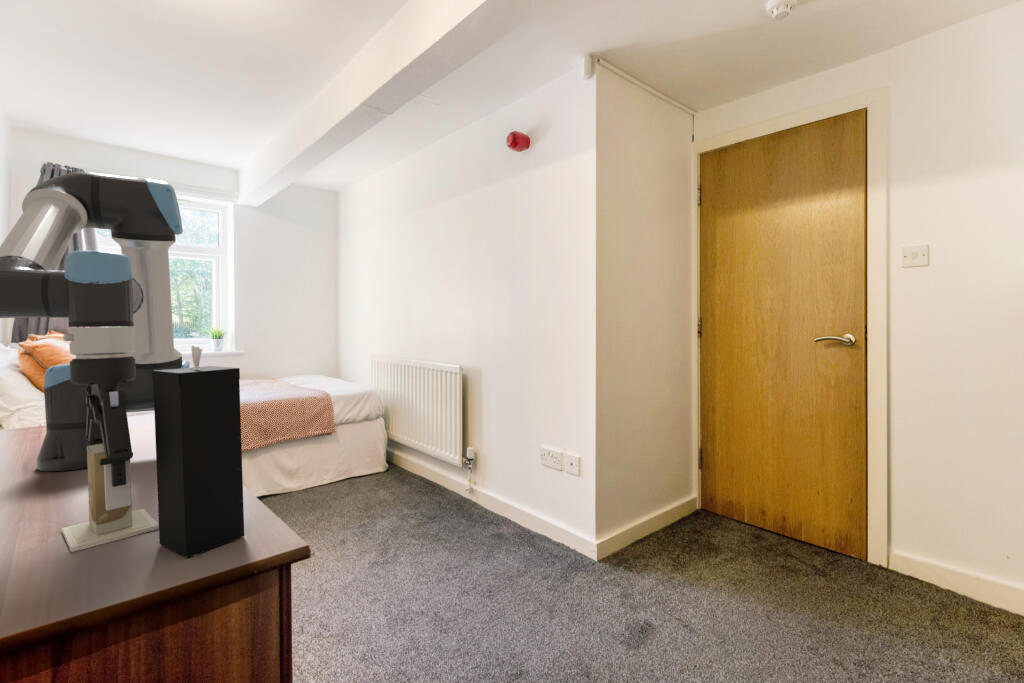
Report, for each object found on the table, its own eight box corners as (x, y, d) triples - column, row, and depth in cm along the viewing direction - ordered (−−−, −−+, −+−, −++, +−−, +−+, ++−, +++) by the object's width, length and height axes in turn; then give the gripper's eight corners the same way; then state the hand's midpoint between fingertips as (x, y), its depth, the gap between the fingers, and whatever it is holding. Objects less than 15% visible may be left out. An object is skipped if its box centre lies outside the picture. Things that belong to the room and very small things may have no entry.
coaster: (61, 532, 73) (61, 527, 73) (143, 512, 81) (143, 508, 80) (71, 552, 66) (70, 547, 66) (159, 528, 74) (159, 524, 74)
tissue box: (185, 559, 64) (178, 347, 63) (158, 545, 68) (150, 346, 67) (245, 537, 71) (239, 345, 70) (216, 525, 75) (210, 344, 74)
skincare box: (88, 524, 74) (85, 445, 73) (124, 516, 77) (121, 440, 77) (96, 536, 70) (92, 452, 69) (133, 527, 73) (130, 446, 72)
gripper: (59, 354, 78) (65, 484, 79) (83, 361, 61) (90, 526, 62) (118, 352, 84) (123, 473, 84) (155, 357, 67) (160, 509, 68)
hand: (109, 496), depth 73 cm, fingers open, 13 cm apart
